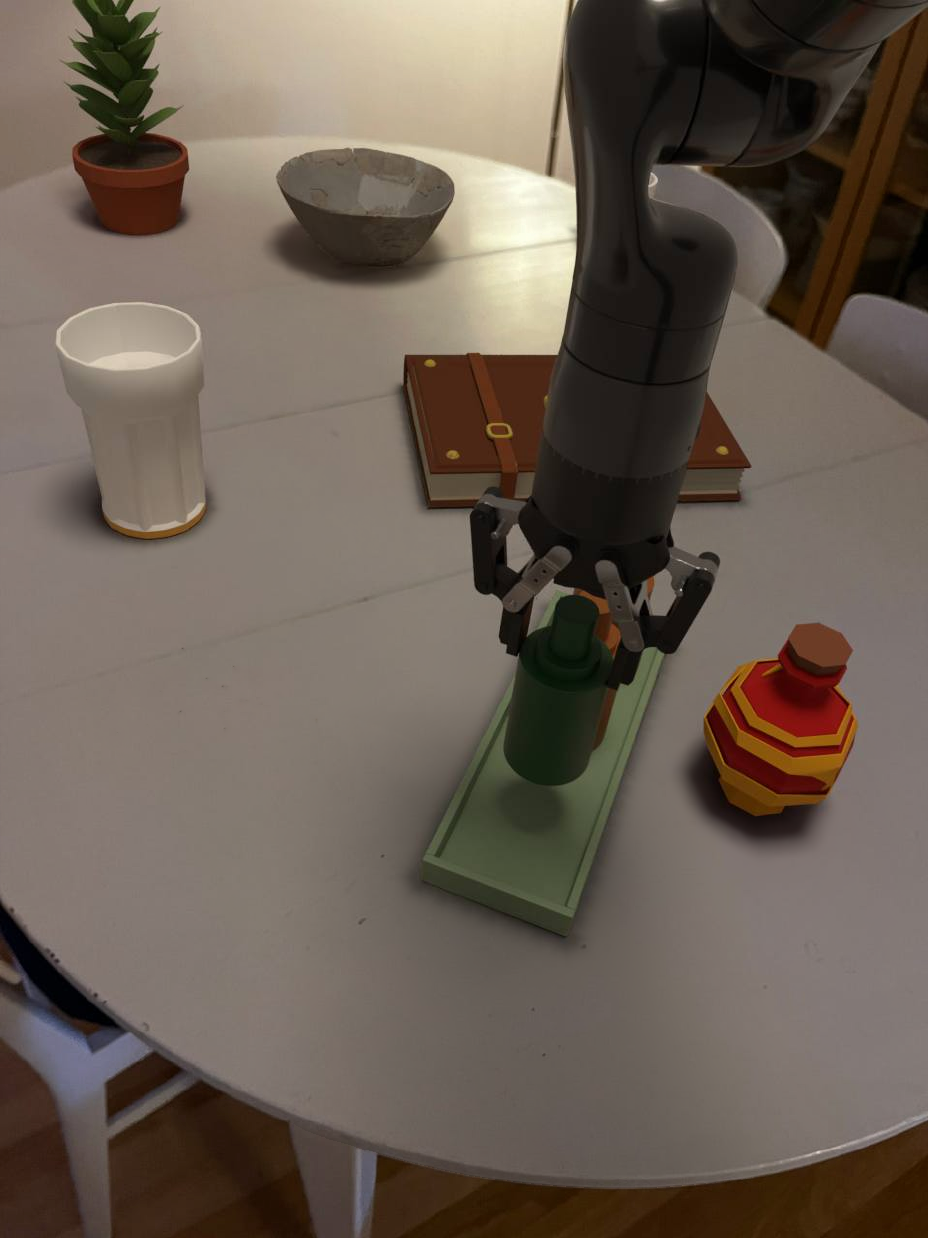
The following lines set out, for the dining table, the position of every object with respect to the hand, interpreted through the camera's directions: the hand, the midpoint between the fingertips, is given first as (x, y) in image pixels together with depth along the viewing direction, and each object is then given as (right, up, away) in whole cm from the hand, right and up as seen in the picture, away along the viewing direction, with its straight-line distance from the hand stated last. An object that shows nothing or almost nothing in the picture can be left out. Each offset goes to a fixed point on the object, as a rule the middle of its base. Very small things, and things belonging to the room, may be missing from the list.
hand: (566, 662), depth 62 cm
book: (+4, +21, +45) cm, 50 cm away
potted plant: (-50, +57, +76) cm, 108 cm away
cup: (-34, +13, +31) cm, 48 cm away
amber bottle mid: (+2, -6, +15) cm, 17 cm away
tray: (+1, -7, +14) cm, 16 cm away
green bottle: (-1, -6, +6) cm, 9 cm away
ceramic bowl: (-19, +51, +74) cm, 92 cm away
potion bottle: (+15, -10, +14) cm, 23 cm away
